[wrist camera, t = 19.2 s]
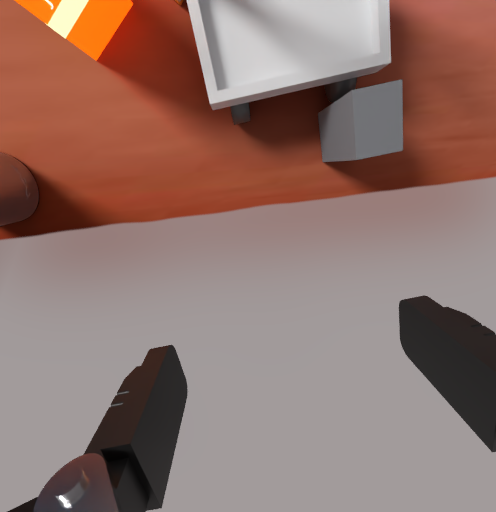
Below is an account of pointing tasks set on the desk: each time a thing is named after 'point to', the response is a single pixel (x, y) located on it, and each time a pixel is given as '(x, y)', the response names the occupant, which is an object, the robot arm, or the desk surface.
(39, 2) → the orange juice
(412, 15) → the desk surface
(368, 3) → the trolley
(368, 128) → the block
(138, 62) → the desk surface
